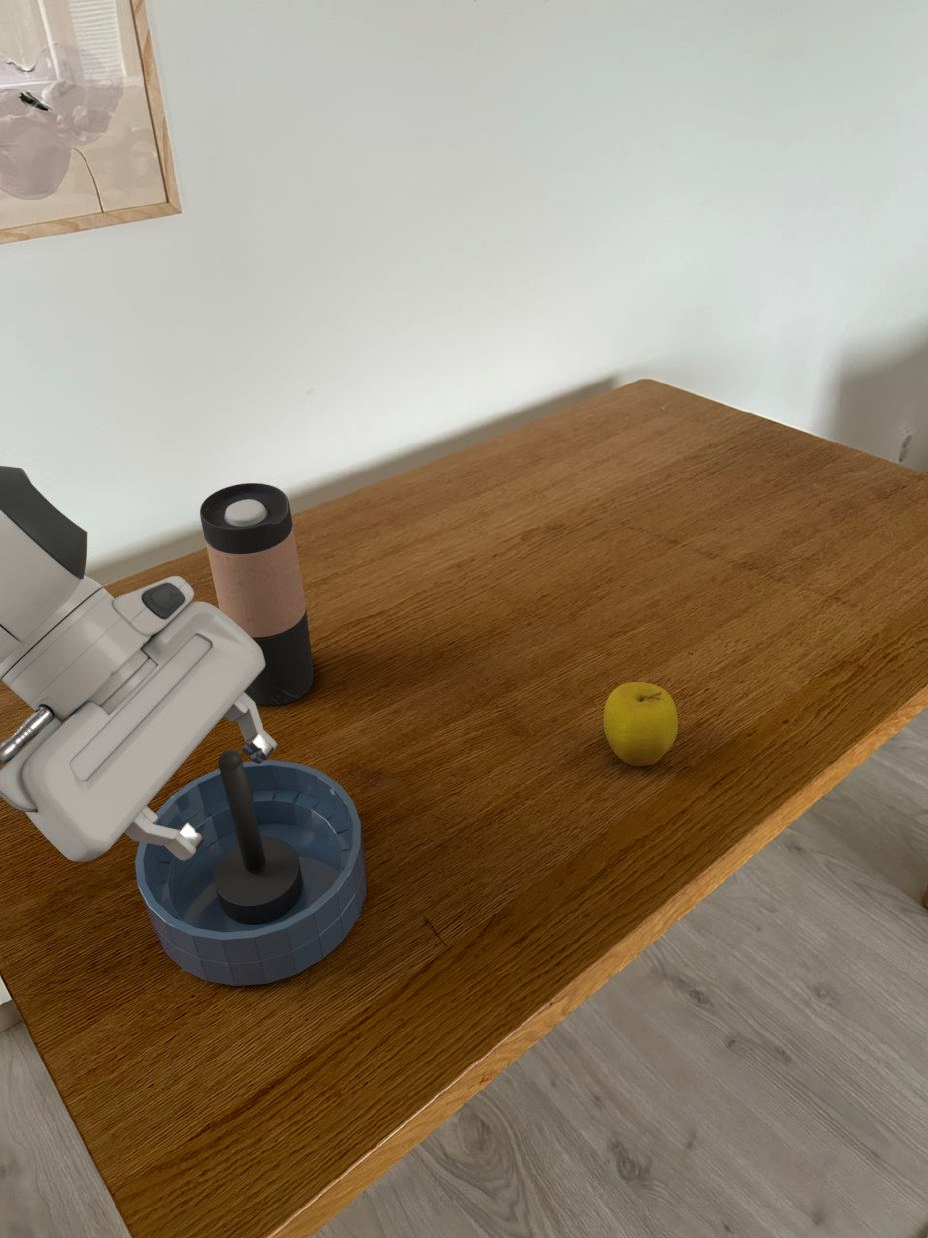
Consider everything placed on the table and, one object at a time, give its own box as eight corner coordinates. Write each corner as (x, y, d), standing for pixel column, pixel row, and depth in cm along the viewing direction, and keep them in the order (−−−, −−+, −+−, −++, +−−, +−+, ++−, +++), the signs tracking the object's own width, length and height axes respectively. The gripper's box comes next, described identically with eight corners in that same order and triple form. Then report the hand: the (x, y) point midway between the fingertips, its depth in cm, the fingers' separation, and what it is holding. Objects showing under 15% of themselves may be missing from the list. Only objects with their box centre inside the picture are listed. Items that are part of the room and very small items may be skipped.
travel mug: (230, 666, 97) (191, 492, 84) (306, 647, 99) (279, 474, 86) (245, 717, 91) (205, 538, 79) (325, 696, 93) (299, 518, 81)
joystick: (255, 940, 72) (220, 805, 62) (201, 893, 75) (160, 757, 66) (320, 884, 75) (295, 748, 66) (266, 842, 79) (235, 706, 69)
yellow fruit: (684, 774, 85) (696, 707, 80) (613, 786, 84) (621, 719, 79) (658, 723, 89) (667, 657, 85) (591, 734, 89) (596, 668, 84)
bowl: (248, 1037, 67) (232, 984, 63) (112, 906, 75) (90, 853, 71) (410, 884, 76) (406, 830, 72) (274, 783, 85) (262, 730, 81)
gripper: (-12, 754, 57) (163, 909, 60) (193, 562, 71) (326, 694, 74) (-44, 785, 61) (121, 928, 64) (156, 598, 75) (283, 721, 79)
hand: (233, 800), depth 69 cm, fingers open, 8 cm apart
